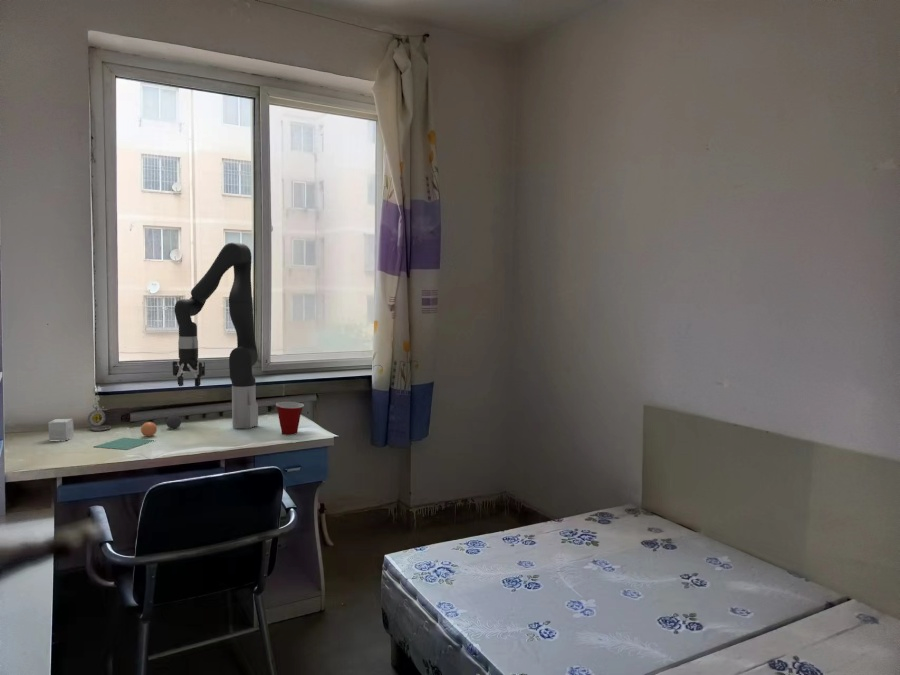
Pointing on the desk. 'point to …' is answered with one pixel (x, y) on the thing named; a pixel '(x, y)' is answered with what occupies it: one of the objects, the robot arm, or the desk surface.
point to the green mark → (124, 443)
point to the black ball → (173, 421)
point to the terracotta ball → (148, 429)
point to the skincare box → (61, 429)
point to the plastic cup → (289, 416)
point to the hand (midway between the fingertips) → (189, 386)
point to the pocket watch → (97, 419)
